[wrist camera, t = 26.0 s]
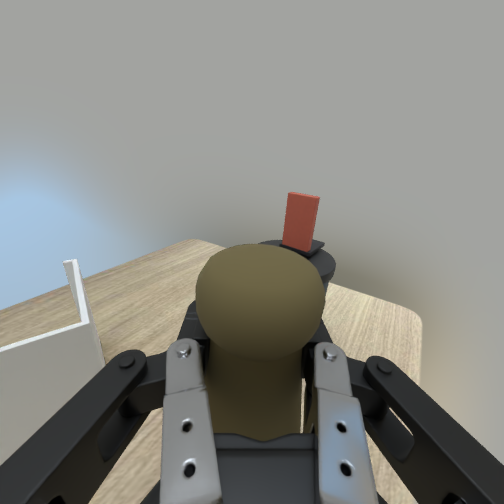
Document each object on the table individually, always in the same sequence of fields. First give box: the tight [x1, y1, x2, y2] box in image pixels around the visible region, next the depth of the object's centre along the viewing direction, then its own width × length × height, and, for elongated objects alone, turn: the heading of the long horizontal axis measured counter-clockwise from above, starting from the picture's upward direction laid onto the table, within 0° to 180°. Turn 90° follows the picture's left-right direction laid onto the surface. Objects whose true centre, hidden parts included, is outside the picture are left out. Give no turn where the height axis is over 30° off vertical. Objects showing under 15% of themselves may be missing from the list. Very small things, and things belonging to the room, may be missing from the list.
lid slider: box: [279, 192, 325, 256], centre depth 25 cm, size 4×4×6 cm
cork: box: [196, 244, 325, 441], centre depth 11 cm, size 6×6×11 cm
